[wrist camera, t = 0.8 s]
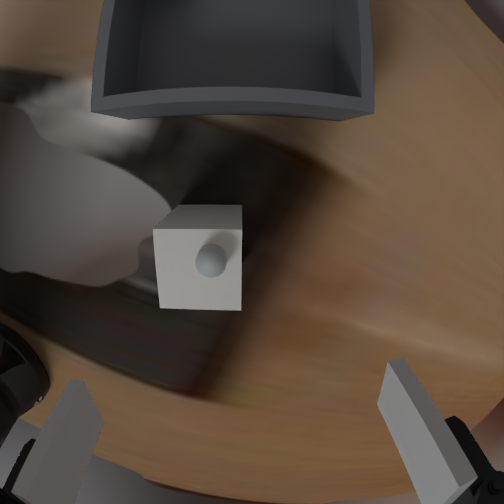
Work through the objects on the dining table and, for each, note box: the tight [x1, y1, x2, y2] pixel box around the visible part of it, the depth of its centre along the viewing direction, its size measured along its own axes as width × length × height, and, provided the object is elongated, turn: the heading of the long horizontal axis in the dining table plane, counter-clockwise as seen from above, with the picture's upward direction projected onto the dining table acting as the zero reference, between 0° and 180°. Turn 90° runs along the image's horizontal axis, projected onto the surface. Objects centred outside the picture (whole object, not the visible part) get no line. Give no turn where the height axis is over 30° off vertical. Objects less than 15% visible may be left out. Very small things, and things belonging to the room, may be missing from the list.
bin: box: [91, 0, 374, 121], centre depth 19 cm, size 20×15×8 cm
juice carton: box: [153, 205, 242, 310], centre depth 25 cm, size 6×6×10 cm
